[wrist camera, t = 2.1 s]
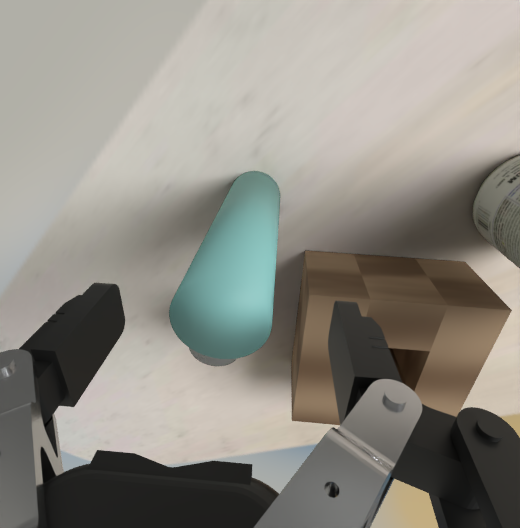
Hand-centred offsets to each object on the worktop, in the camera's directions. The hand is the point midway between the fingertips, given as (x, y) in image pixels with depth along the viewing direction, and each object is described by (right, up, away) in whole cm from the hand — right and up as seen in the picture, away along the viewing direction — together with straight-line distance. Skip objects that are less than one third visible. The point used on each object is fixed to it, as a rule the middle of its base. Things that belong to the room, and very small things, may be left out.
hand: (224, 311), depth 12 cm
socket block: (+10, -3, +16) cm, 19 cm away
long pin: (+1, +7, +11) cm, 13 cm away
